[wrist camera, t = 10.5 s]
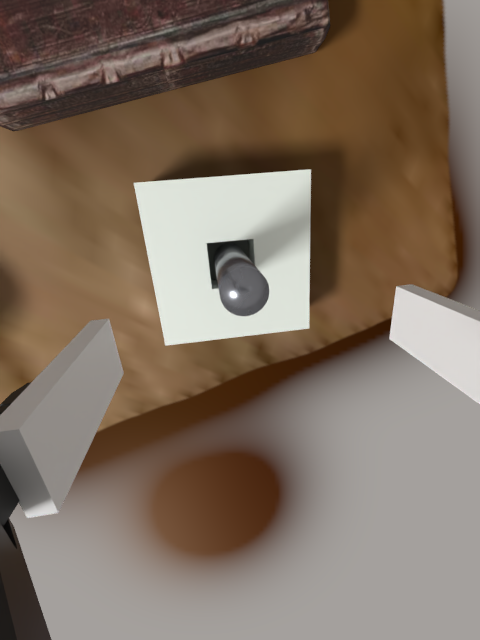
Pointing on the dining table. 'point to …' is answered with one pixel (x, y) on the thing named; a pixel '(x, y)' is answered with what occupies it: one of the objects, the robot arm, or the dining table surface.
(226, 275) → the pin
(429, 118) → the dining table surface
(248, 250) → the bore block
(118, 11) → the hardback book
